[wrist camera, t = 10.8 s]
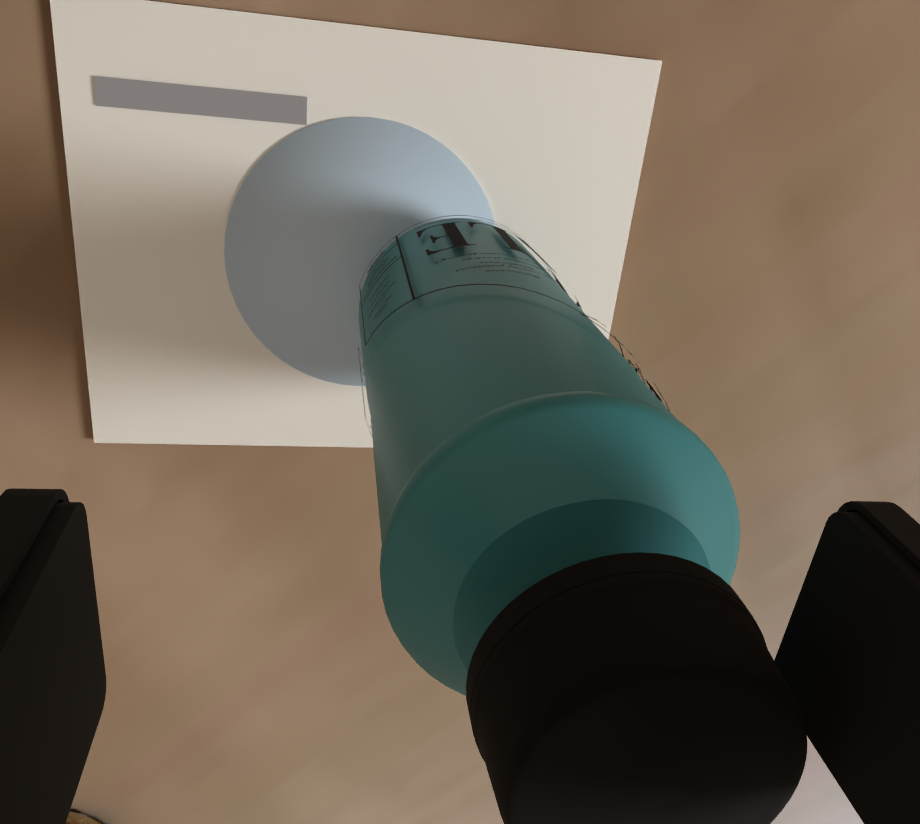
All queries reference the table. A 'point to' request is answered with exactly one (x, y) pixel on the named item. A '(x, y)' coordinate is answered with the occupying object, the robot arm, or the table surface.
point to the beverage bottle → (562, 549)
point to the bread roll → (80, 819)
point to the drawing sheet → (309, 198)
